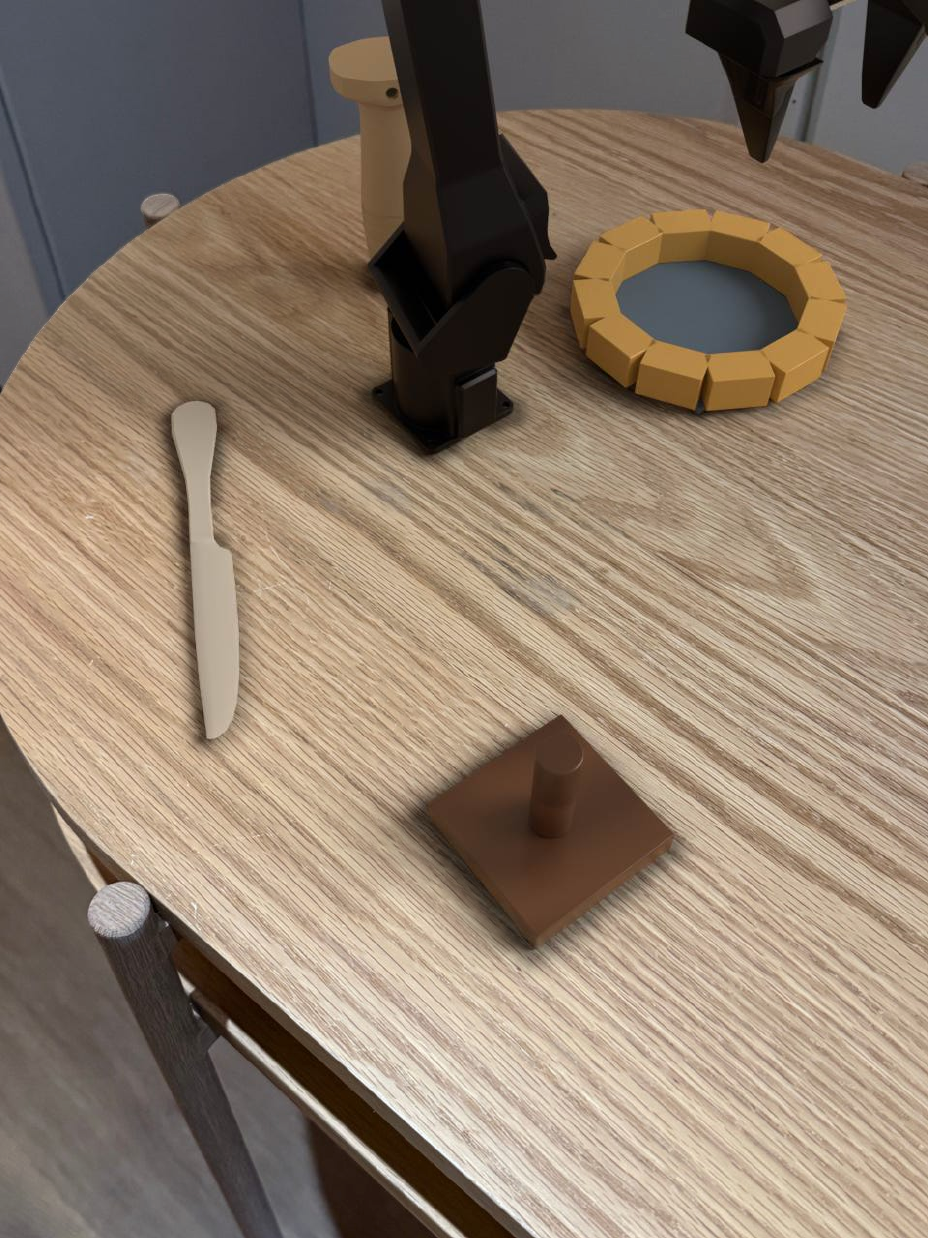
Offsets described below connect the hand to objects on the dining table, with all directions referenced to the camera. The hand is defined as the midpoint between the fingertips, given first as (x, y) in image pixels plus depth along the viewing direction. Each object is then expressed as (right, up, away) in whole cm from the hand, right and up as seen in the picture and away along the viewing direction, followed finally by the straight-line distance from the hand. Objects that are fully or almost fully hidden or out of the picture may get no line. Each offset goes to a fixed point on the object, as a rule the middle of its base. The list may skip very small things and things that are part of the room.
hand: (815, 131), depth 65 cm
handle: (-24, -4, +13) cm, 28 cm away
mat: (-4, -8, +10) cm, 14 cm away
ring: (-4, -8, +9) cm, 13 cm away
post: (-16, -38, -12) cm, 42 cm away
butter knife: (-34, -24, -2) cm, 42 cm away
